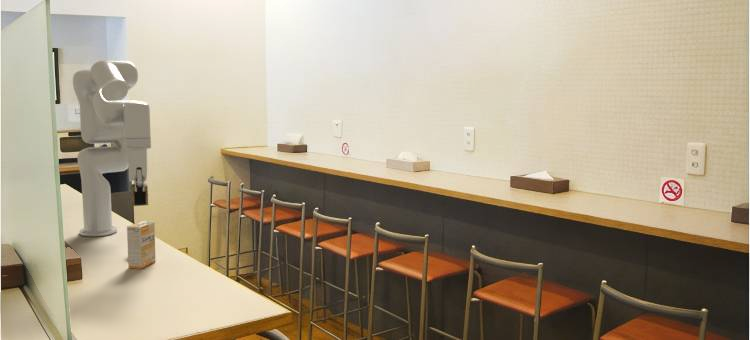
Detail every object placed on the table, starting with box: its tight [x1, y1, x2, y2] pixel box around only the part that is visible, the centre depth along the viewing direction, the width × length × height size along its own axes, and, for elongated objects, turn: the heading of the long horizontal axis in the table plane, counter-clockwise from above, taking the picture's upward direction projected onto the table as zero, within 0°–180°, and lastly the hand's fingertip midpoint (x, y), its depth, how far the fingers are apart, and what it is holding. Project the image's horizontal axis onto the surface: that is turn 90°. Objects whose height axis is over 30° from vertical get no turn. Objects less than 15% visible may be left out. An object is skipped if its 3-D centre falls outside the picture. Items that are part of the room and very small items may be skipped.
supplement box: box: [126, 220, 156, 270], centre depth 197 cm, size 8×5×13 cm, turn 168°
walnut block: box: [131, 182, 149, 207], centre depth 195 cm, size 4×4×6 cm
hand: (140, 202), depth 195 cm, fingers closed on walnut block, 4 cm apart
